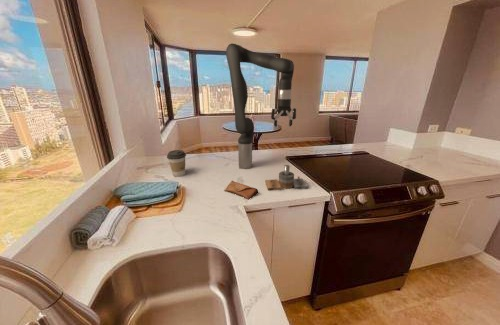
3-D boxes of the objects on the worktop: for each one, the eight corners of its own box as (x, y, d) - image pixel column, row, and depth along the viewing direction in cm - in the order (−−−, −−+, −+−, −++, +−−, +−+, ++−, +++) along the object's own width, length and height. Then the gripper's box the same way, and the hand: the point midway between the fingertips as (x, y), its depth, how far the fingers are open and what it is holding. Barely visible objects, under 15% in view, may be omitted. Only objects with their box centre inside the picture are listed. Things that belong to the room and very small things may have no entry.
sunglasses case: (222, 190, 114) (225, 178, 115) (229, 191, 120) (232, 180, 121) (249, 200, 105) (253, 187, 105) (256, 201, 111) (259, 189, 111)
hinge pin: (283, 186, 118) (285, 166, 114) (282, 184, 121) (283, 164, 117) (288, 186, 119) (290, 166, 114) (287, 184, 121) (288, 164, 117)
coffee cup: (183, 179, 128) (179, 155, 123) (166, 177, 130) (162, 154, 125) (191, 171, 138) (189, 149, 133) (175, 170, 141) (172, 148, 135)
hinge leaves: (267, 190, 114) (268, 178, 112) (265, 182, 124) (265, 171, 121) (307, 188, 116) (309, 177, 114) (302, 180, 125) (303, 169, 123)
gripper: (294, 97, 124) (292, 124, 130) (270, 97, 123) (270, 125, 129) (298, 98, 117) (296, 127, 123) (273, 98, 116) (272, 127, 122)
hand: (282, 126), depth 126 cm, fingers open, 8 cm apart
